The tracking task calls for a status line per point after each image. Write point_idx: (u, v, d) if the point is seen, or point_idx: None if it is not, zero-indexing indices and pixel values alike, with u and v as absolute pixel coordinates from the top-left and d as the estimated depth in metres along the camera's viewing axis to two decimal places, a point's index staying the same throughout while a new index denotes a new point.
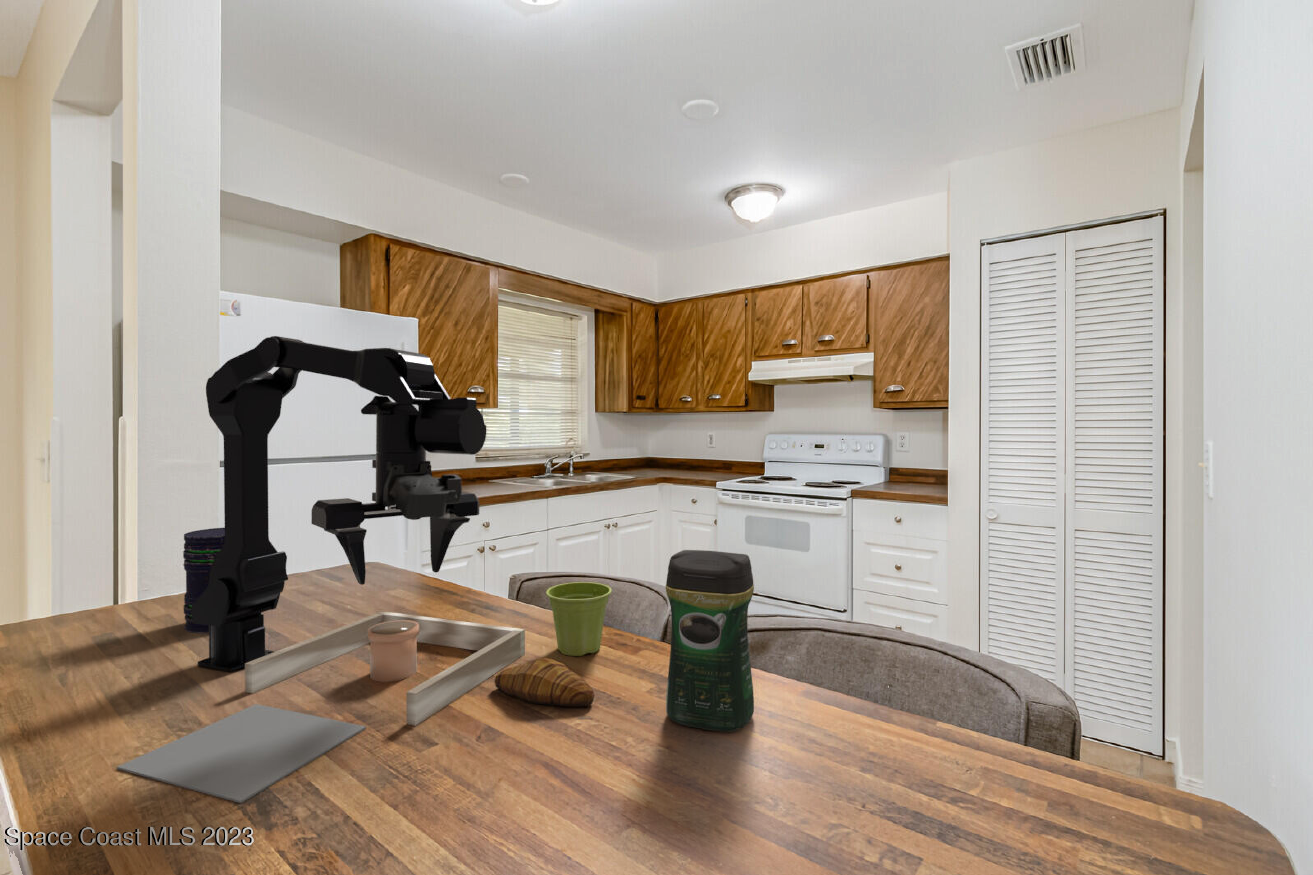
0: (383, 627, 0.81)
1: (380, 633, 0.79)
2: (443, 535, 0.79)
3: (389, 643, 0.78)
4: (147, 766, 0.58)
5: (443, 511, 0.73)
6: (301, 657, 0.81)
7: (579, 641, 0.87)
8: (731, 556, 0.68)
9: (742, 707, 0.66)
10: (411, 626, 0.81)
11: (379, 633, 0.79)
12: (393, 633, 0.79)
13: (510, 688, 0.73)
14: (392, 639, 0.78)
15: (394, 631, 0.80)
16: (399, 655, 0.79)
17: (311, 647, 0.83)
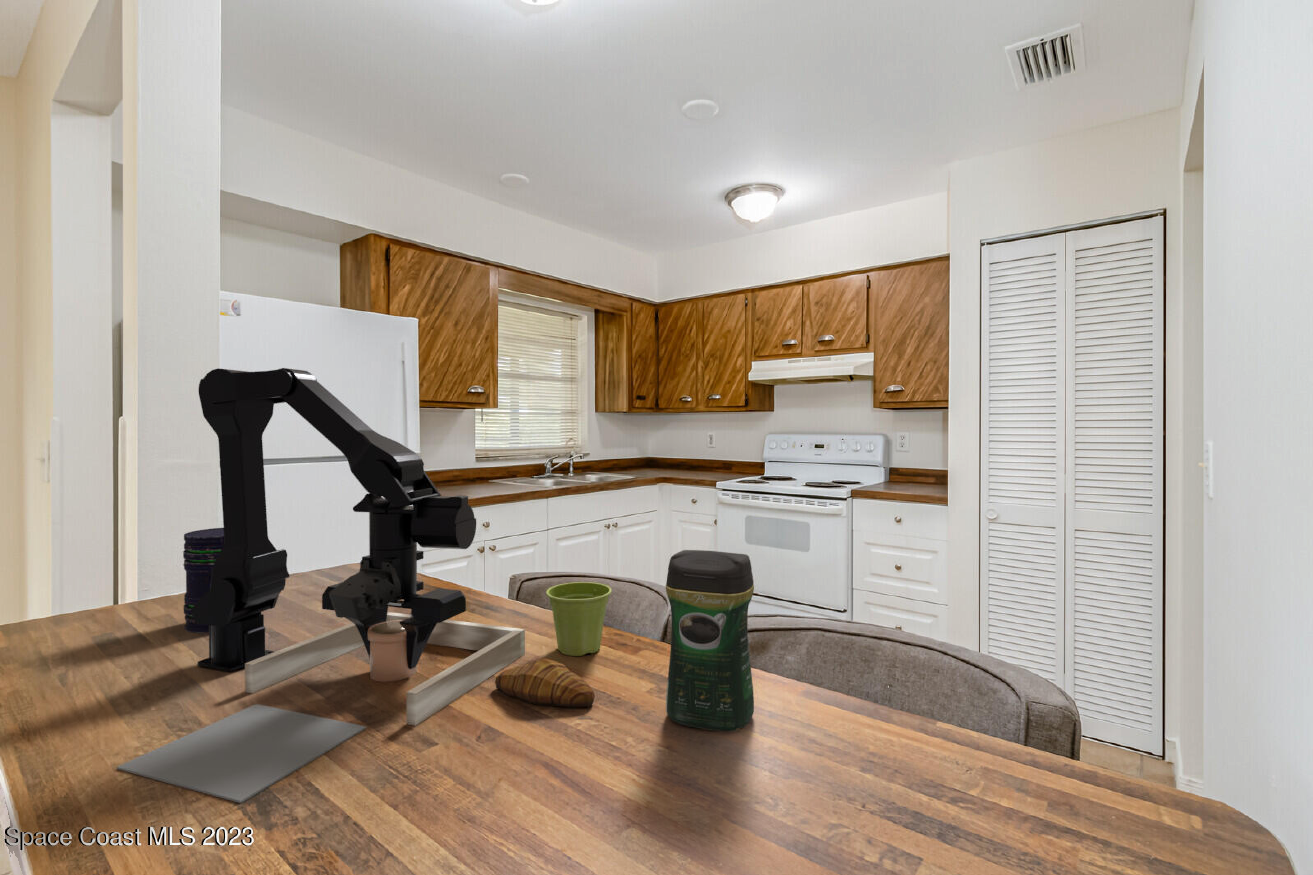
0: (383, 627, 0.81)
1: (380, 633, 0.79)
2: (406, 634, 0.79)
3: (389, 643, 0.78)
4: (147, 766, 0.58)
5: (359, 614, 0.73)
6: (301, 657, 0.81)
7: (579, 640, 0.87)
8: (731, 556, 0.68)
9: (742, 707, 0.66)
10: None
11: (379, 633, 0.79)
12: (393, 633, 0.79)
13: (510, 689, 0.73)
14: (392, 639, 0.78)
15: (394, 630, 0.80)
16: (399, 655, 0.79)
17: (311, 647, 0.83)
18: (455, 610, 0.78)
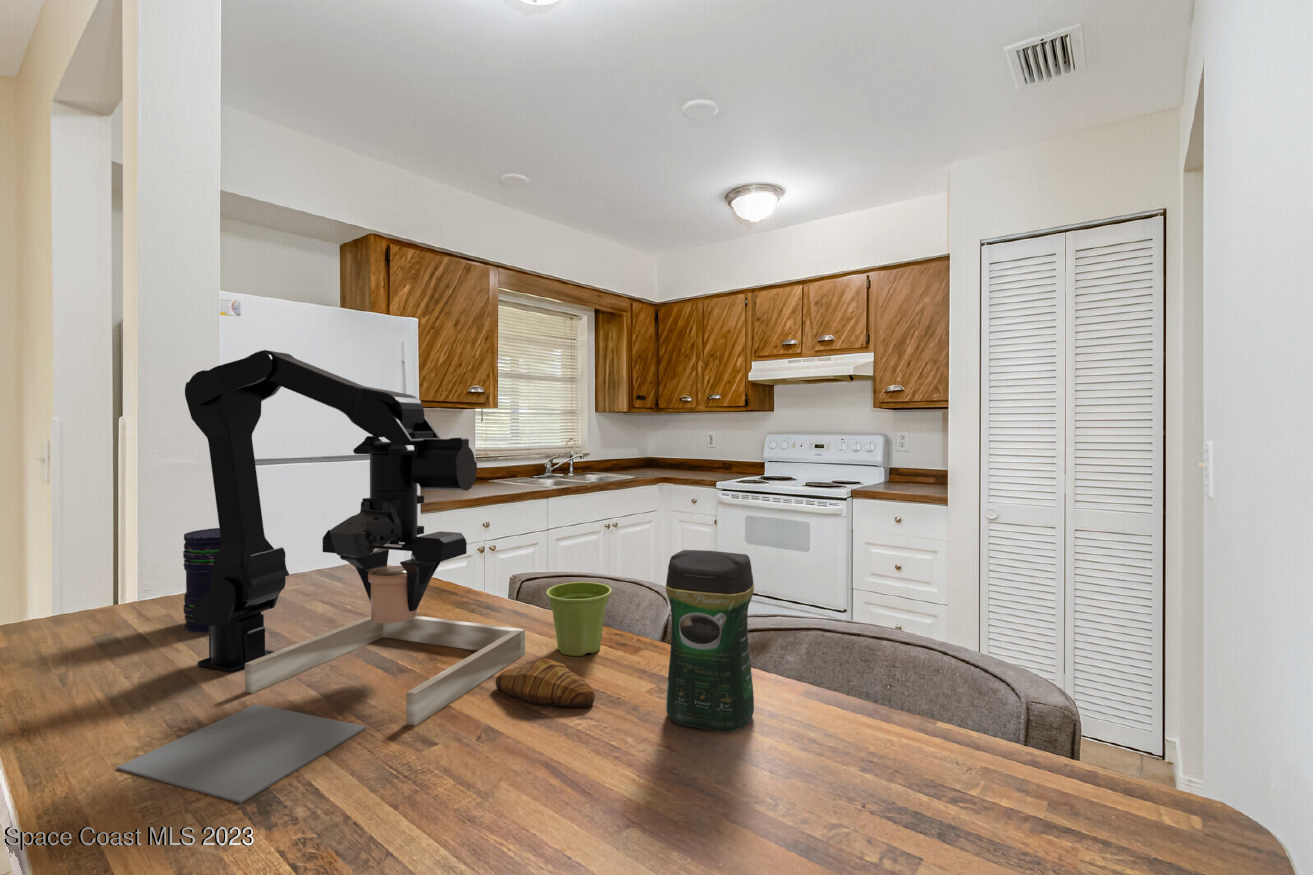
0: (383, 570, 0.81)
1: (380, 575, 0.79)
2: (407, 575, 0.79)
3: (390, 584, 0.78)
4: (147, 766, 0.58)
5: (359, 551, 0.73)
6: (301, 657, 0.81)
7: (579, 641, 0.87)
8: (731, 556, 0.68)
9: (742, 707, 0.66)
10: None
11: (379, 574, 0.79)
12: (394, 574, 0.79)
13: (511, 689, 0.73)
14: (393, 580, 0.78)
15: (395, 573, 0.80)
16: (400, 597, 0.79)
17: (311, 647, 0.83)
18: (456, 551, 0.78)
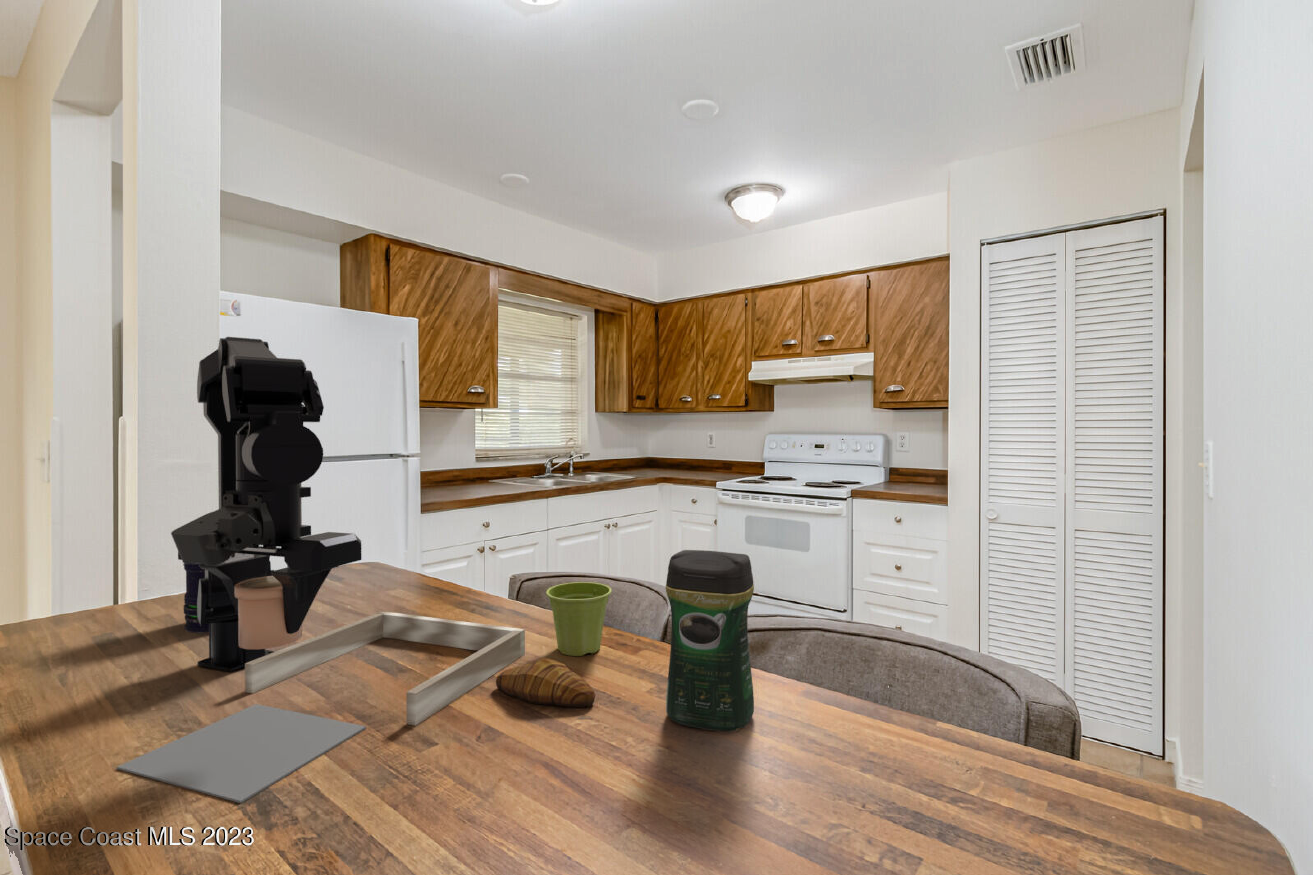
0: (257, 581, 0.64)
1: (249, 587, 0.62)
2: (283, 588, 0.62)
3: (260, 600, 0.61)
4: (147, 766, 0.58)
5: (209, 558, 0.56)
6: (301, 657, 0.81)
7: (579, 641, 0.87)
8: (731, 556, 0.68)
9: (742, 707, 0.66)
10: None
11: (247, 587, 0.62)
12: (266, 587, 0.62)
13: (511, 688, 0.73)
14: (264, 594, 0.61)
15: (269, 585, 0.63)
16: (274, 615, 0.62)
17: (311, 647, 0.83)
18: (345, 557, 0.61)
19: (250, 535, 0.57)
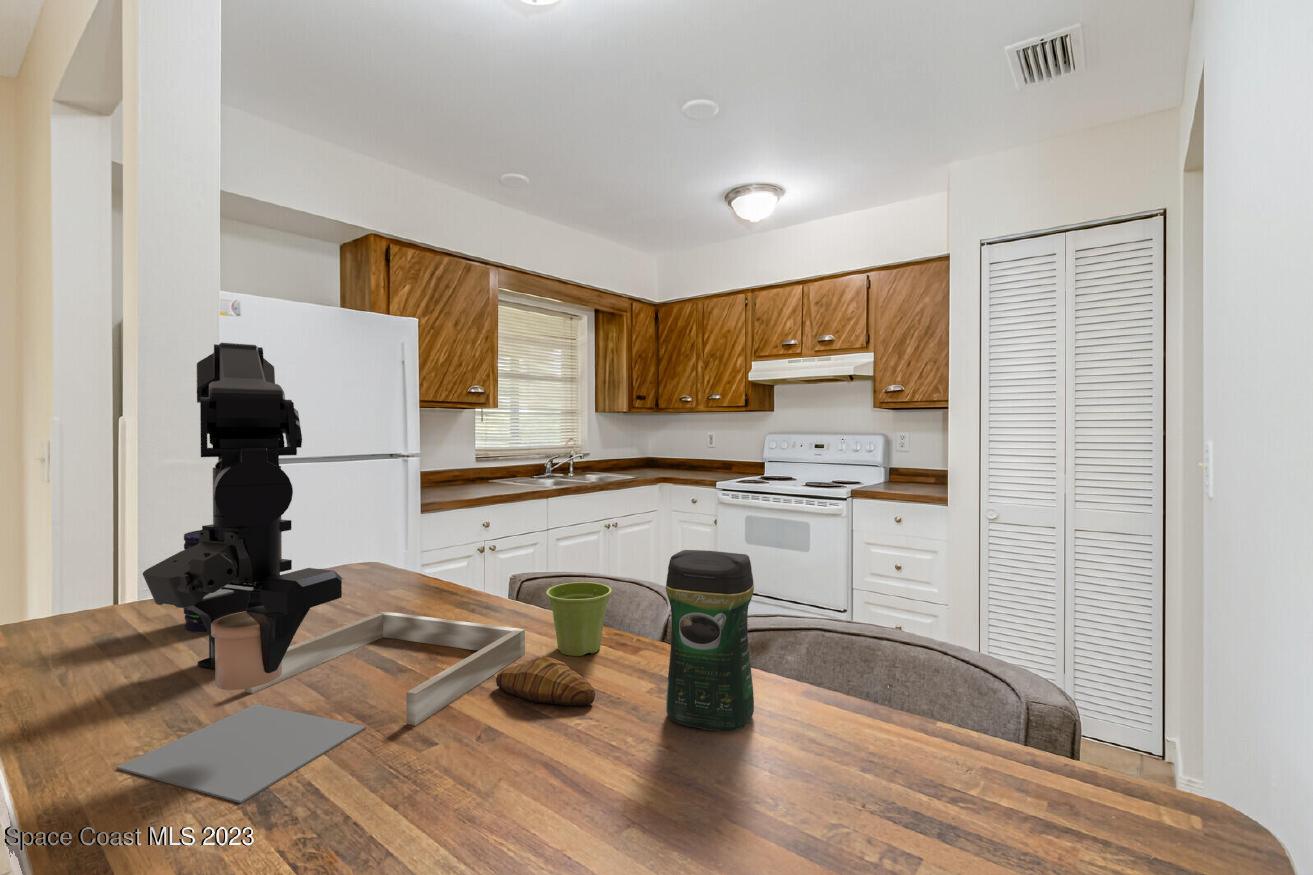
0: (235, 618, 0.62)
1: (225, 626, 0.60)
2: (260, 627, 0.60)
3: (236, 639, 0.59)
4: (147, 766, 0.58)
5: (181, 600, 0.54)
6: (301, 657, 0.81)
7: (579, 641, 0.87)
8: (731, 556, 0.68)
9: (742, 707, 0.66)
10: None
11: (223, 626, 0.60)
12: (243, 626, 0.60)
13: (511, 687, 0.73)
14: (240, 634, 0.59)
15: (246, 622, 0.61)
16: (251, 655, 0.60)
17: (311, 647, 0.83)
18: (323, 596, 0.59)
19: (224, 576, 0.55)
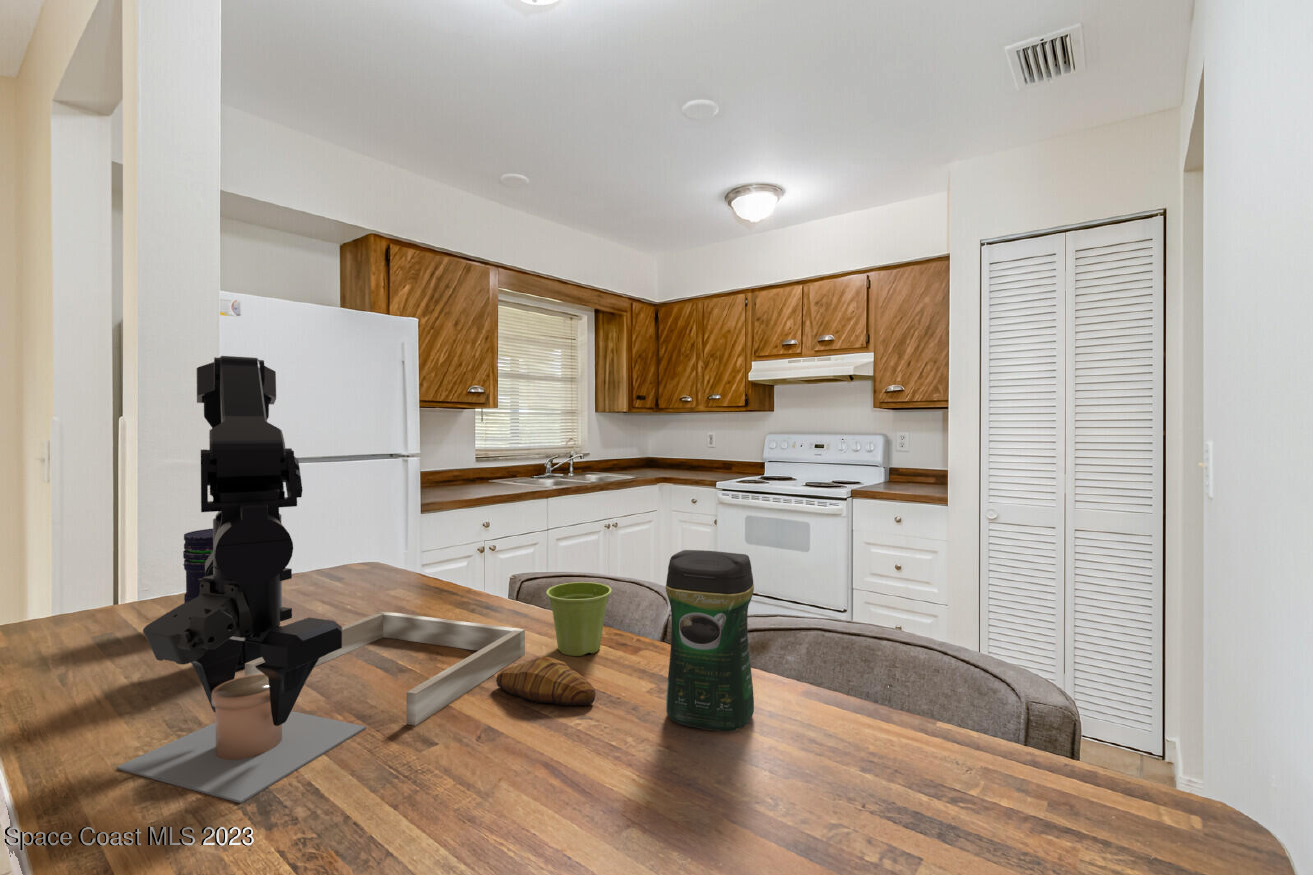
0: (235, 685, 0.62)
1: (226, 695, 0.60)
2: (269, 680, 0.59)
3: (237, 709, 0.59)
4: (147, 766, 0.58)
5: (181, 657, 0.54)
6: None
7: (579, 641, 0.87)
8: (731, 556, 0.68)
9: (742, 707, 0.66)
10: None
11: (224, 695, 0.60)
12: (243, 695, 0.60)
13: (512, 686, 0.73)
14: (240, 704, 0.59)
15: (247, 691, 0.61)
16: (252, 724, 0.60)
17: None
18: (323, 648, 0.59)
19: (224, 631, 0.55)
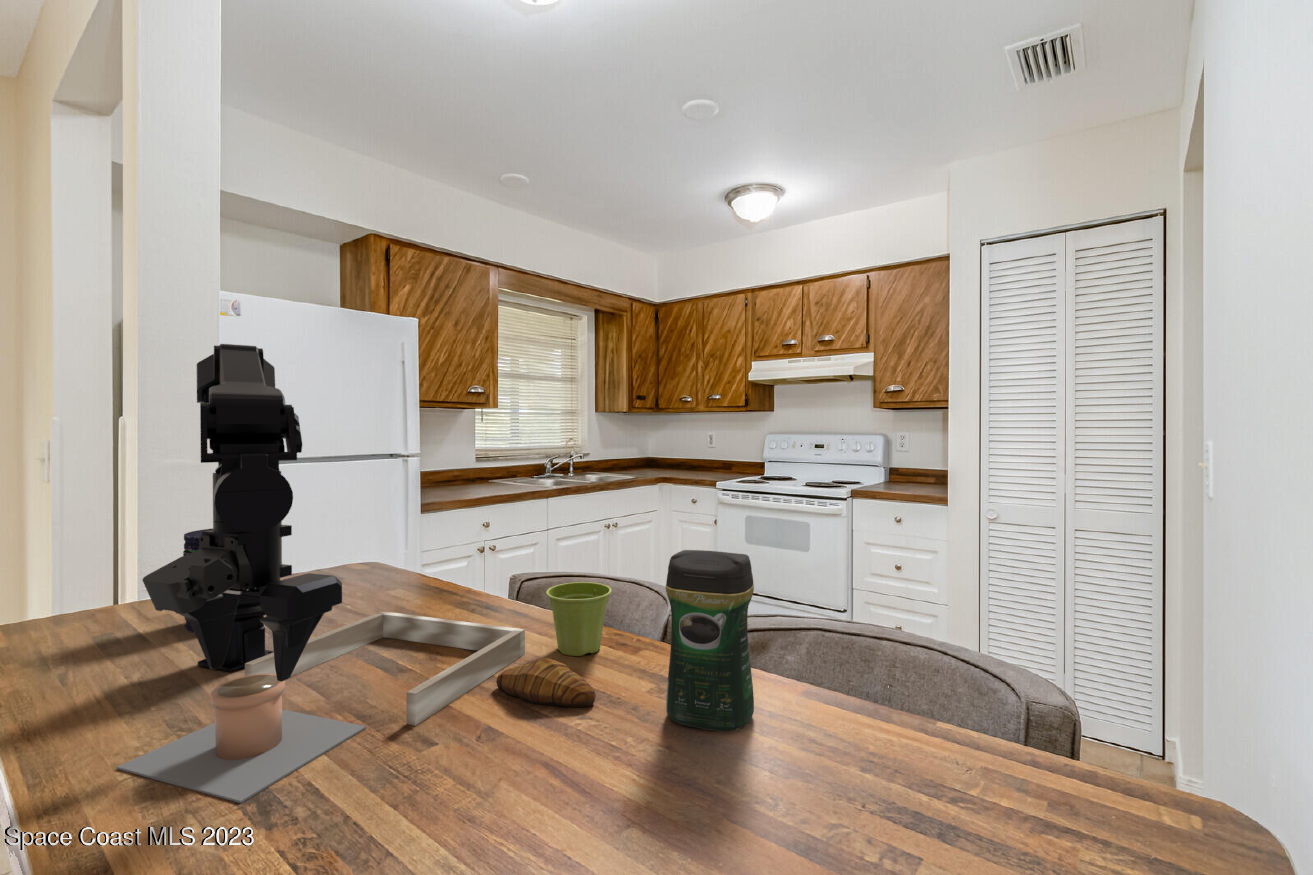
0: (235, 685, 0.62)
1: (225, 696, 0.60)
2: (273, 635, 0.59)
3: (236, 709, 0.59)
4: (147, 766, 0.58)
5: (181, 606, 0.54)
6: (301, 657, 0.81)
7: (579, 641, 0.87)
8: (731, 556, 0.68)
9: (742, 707, 0.66)
10: (272, 684, 0.63)
11: (224, 695, 0.60)
12: (243, 695, 0.60)
13: (512, 688, 0.73)
14: (240, 704, 0.59)
15: (247, 691, 0.61)
16: (251, 724, 0.60)
17: (311, 647, 0.83)
18: (324, 601, 0.59)
19: (224, 581, 0.55)
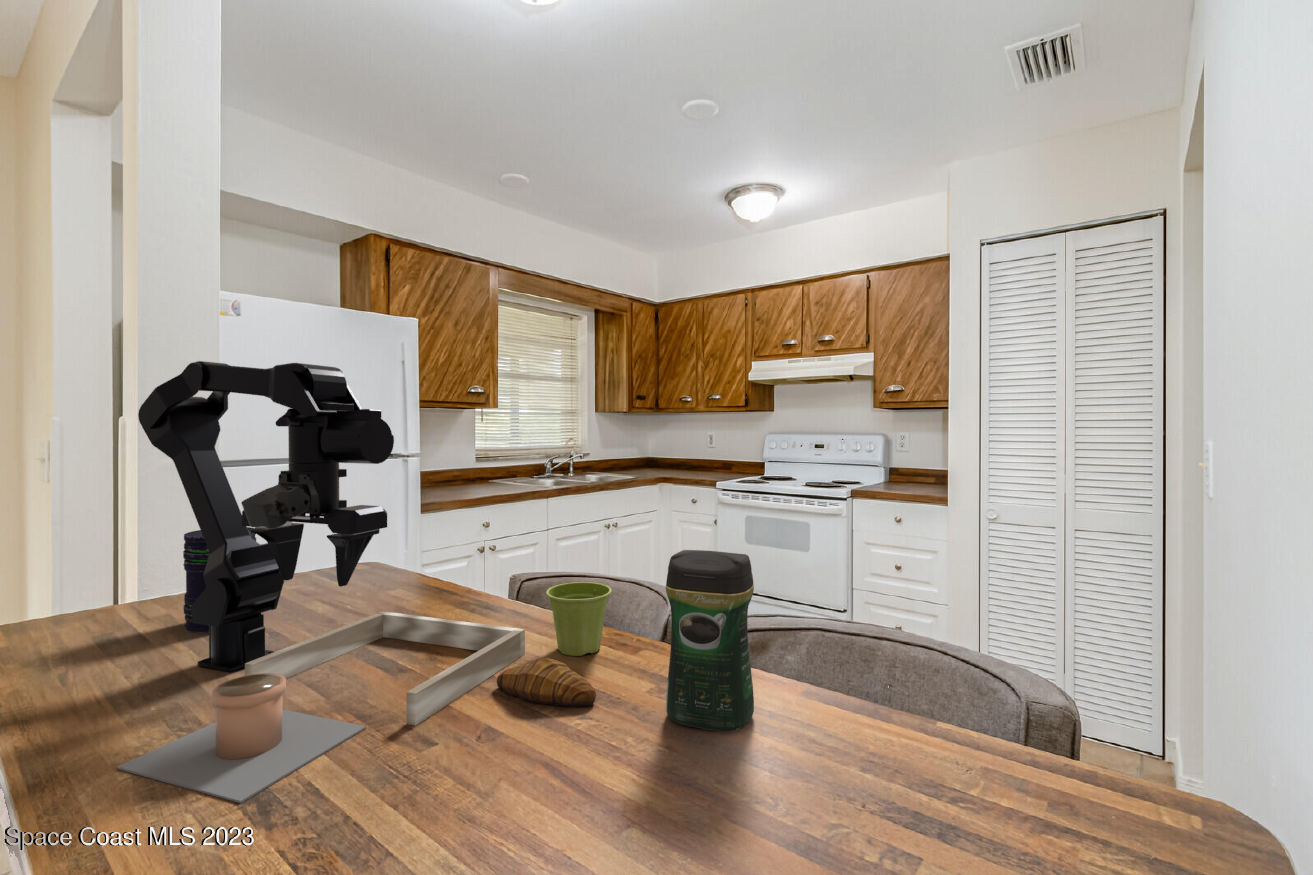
0: (236, 684, 0.62)
1: (226, 695, 0.60)
2: (335, 549, 0.77)
3: (237, 708, 0.60)
4: (147, 766, 0.58)
5: (271, 522, 0.72)
6: (301, 657, 0.81)
7: (579, 640, 0.87)
8: (731, 556, 0.68)
9: (742, 707, 0.66)
10: (273, 684, 0.63)
11: (224, 694, 0.60)
12: (243, 695, 0.60)
13: (512, 688, 0.73)
14: (240, 703, 0.59)
15: (247, 691, 0.61)
16: (252, 724, 0.60)
17: (311, 647, 0.83)
18: (374, 524, 0.77)
19: (302, 505, 0.73)
